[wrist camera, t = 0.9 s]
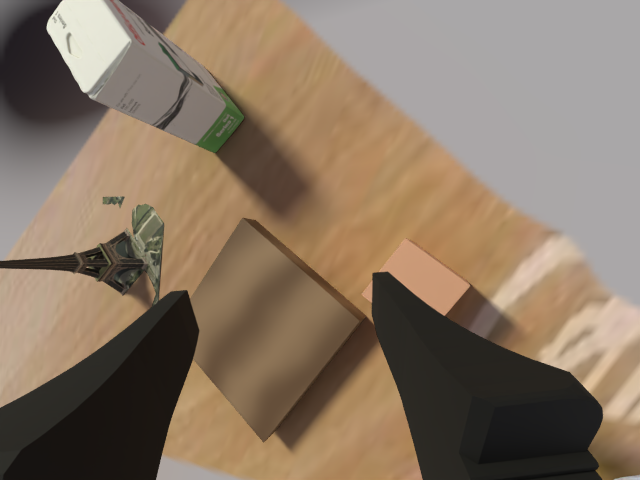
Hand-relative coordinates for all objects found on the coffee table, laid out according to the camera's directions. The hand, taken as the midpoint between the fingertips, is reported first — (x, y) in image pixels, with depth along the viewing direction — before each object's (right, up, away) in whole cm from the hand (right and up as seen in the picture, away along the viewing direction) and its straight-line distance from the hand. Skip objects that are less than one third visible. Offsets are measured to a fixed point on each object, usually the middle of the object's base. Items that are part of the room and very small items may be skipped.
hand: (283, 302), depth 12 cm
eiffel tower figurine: (-19, 0, +23) cm, 30 cm away
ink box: (-10, +16, +19) cm, 27 cm away
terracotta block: (+9, -1, +11) cm, 14 cm away
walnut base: (-3, -5, +16) cm, 17 cm away
